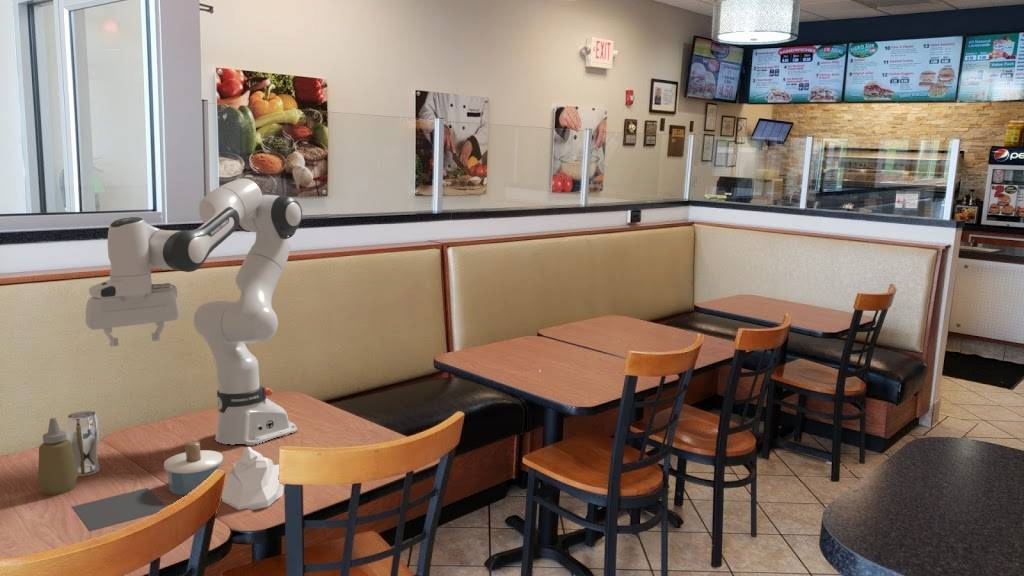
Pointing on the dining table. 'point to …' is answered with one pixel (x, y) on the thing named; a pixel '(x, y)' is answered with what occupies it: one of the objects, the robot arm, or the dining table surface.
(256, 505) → the white faceted lump
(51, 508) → the dining table surface
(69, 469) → the squeeze bottle
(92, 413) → the beer glass
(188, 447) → the lid
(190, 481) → the bowl
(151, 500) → the mat
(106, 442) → the dining table surface
